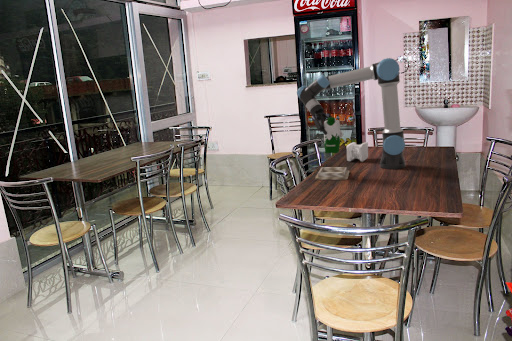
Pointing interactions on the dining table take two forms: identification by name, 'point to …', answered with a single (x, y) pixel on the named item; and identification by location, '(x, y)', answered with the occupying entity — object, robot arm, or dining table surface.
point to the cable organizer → (357, 151)
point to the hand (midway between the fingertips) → (336, 137)
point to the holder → (332, 173)
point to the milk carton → (334, 130)
